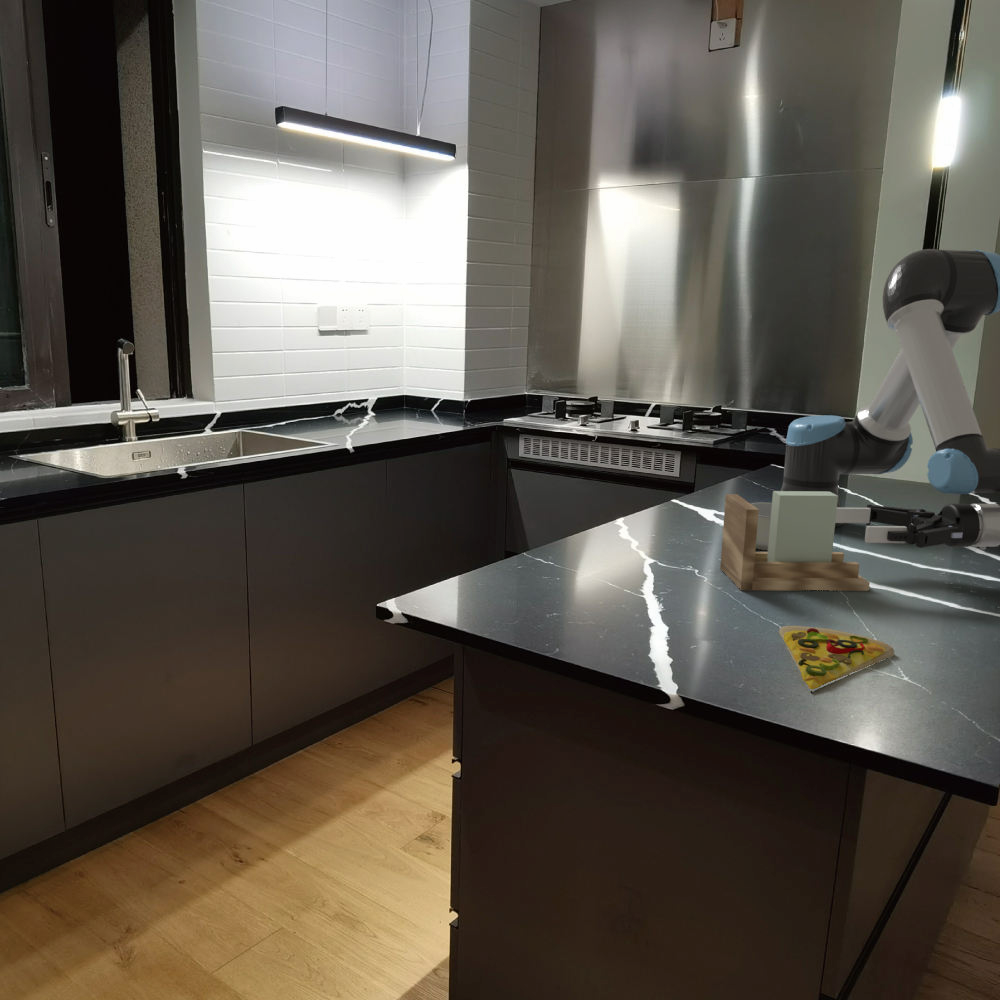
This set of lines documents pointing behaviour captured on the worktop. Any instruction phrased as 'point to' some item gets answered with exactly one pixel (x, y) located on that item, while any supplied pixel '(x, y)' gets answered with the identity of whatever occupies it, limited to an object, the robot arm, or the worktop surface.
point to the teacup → (763, 525)
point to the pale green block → (802, 526)
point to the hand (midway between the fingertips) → (848, 524)
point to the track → (788, 576)
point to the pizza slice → (831, 652)
